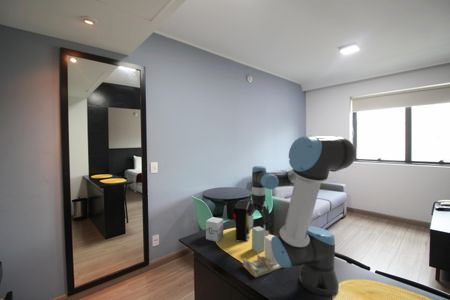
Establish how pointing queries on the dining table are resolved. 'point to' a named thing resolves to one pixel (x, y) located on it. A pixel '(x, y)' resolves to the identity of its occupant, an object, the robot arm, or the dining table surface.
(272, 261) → the white tall block
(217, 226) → the ink box
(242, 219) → the electrical component
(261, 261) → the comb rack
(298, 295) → the dining table surface
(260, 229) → the sage plug
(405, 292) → the dining table surface
